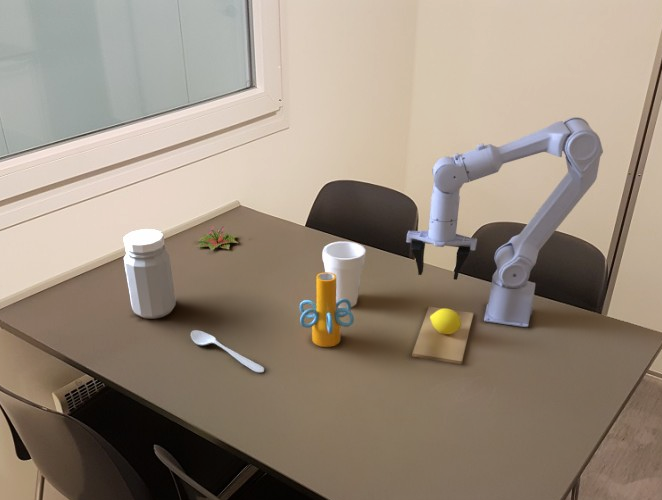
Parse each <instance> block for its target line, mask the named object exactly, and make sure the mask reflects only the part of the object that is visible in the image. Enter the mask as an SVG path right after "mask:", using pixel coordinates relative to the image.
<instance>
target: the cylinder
mask: <svg viewBox="0 0 662 500" xmlns="http://www.w3.org/2000/svg"><path fill="white" fill-rule="evenodd" d="M315 277H316V278H315V279H316V282H315V283H316V286H315V287H316V289H315V291H316V302H314V301H313V300H310V299H304V300H302V301H301V302H300V304H299V311H300V313H301V315H300V318H299V322H300V325H301V327H303V328H305V329H309V328H311V340H312V342H313V344H314V345H316V346H318V347H321V348H331V347H335V346H337V345H338V344H339V343H340V342H341V336H342V335H341V330H342V327H344V328H347V327H350V326H352V325H353V324H354V321H355V317H354V314H353V312H352V311H351V309H352V307H351V303H350V301H349V300H348V299H341V300H339V301H338V302H337V303H336V275H335V274H334V273H330V272H325V271H322V272H320V273H318V274H316V276H315ZM343 302H346V303H347V308H338V306H339V305H340V304H341V303H343ZM305 305H310V306H312V308H307V309H306V310H305V309H304V306H305ZM310 313H313V314H310ZM347 315H348V316H349V321H348V322H344V321H342V320H341V319H340V318H344V317H346V316H347ZM305 318H307V319H313V320H312V321H311V322H309V323H306V322H305Z"/></svg>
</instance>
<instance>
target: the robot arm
mask: <svg viewBox="0 0 662 500" xmlns="http://www.w3.org/2000/svg"><path fill="white" fill-rule="evenodd" d="M540 153H547V154H550V155H553V156H556V157H558V158H562V157H563V154H564V157H565V163H566V168H567V172H566V174H565V175H564V176H563V178H562V179H561V180H560V181H559V183H558V184H557V186H556V187H555V188H554V189H553V191H552V192H551V193H550V195H549V196H548V197H547V198H546V200H545V201H544V202H543V204H542V205H541V206H540V207H539V209H538V210H537V211H536V212H535V214H534V215H533V216H532V217H531V219H530V220H529V221H528V222H527V224H526V225H525V226H524V227H523V229H522V230H521V232H520V233H519V234H516V235H514V236H511V238H510V239H509V240H508V242H506V243H504V244H502V245H501V246H500V247H498V248H497V249H496V250H495V253H494V259H493V260H494V263H495V265H496V270H495V272H494V273H493V274H492V277H491V285H490V291H489V297H488V298H489V299H488V303H487V304H486V306H485V307H486V308H485V313H484V317H483V321H484V322H487V323H493V324H501V325H507V326H514V327H520V328H529V325H530V319H531V316H532V315H533V310H534V307H533V302H534V296H535V290H536V282H532V281H530V280H529V278H530V275H531V272H532V269H533V267H534V266H535V265H536V264H537V259H538V256H539V252H540V250H541V249H542V248H543V247H544V245H545V244H546V243H547V242H548V240H549V239H551V237H552V235H553V234H554V233H555V232H556V230H557V229H558V228H559V227H560V225H561V224H562V223H563V222H564V220H565V219H566V218H567V217H568V216H569V214H570V213H571V212H572V211H573V210H574V208H575V207H576V206H577V205H578V203H579V202H580V201H581V200H582V198H583V197H584V196H585V194H586V193H587V192H588V191H589V190H590V188H591V187H592V186H593V185H594V184H595V182H596V180H597V178H598V172H599V166H600V161H601V157H602V155H603V153H604V150H603V146H602V142H601V138H600V136H599V134H597V132H595V131H594V130H593V129H592V127H591V126H590V124H589V122H588V121H587V120H586V119H584V118H582V117H576V116H574V117H570V118H567V119H566V120H564V121H563V120H561V121H556V122H554V123H552V124H550V125H549V126H546V127H544V128H542V129H539V130H537V131H535V132H532V133H530V134H527V135H525V136H522V137H520V138H518V139H515V140H513V141H510V142H507V143H505V144H502V145H501V146H496V145H493V144H491V143H487V144H485V145H484V143H483V142H482V143H479V144H477V145H476V148H474V149H472V150H468V151H466V152H465V151H464V152H463V153H459V152H457V153H454V154H453V156H443V157H441V158H440V159H438V160H437V161H436V162H435V163H434V165H433V167H432V168H431V171H432V172H431V173H432V176H433V186H432V193H431V198H430V211H429V221H428V222H429V223H428V230H408V231H407V234H406V243H408V244H410V251H411V253H412V255H413V258H414V261H415V263H416V267H417V275H418V276H422V275H423V272H424V267H425V266H424V265H425V264H424V260H425V258H424V257H425V248H426V244H427V245H433V246H434V247H438V248H444V247H454V248H457V250H456V257H455V259H456V260H455V269H454V273H453V280H456V281H457V280H458V277H459V273H460V270H461V268H462V266H463V265H464V263H465V262H466V260H467V259H468V257H469V255H470V252H471V251H473V252H474V251H476V249H477V244H478V238H476V237H469V236H466V235H463V234H459V233H457V230H458V229H457V227H458V220H459V218H458V217H459V209H460V201H461V200H460V199H461V195H460V191H461V188H462V187H463V185H464V184H467V183H470V182H473V181H476V180H479V179H482V178H485V177H488V176H490V175H494V174H496V173H498V172H499V171H500V169H501V168H502V166H503V165H505V164H508V163H510V162H514V161H518V160H521V159H524V158H527V157H531V156H534V155H538V154H540Z"/></svg>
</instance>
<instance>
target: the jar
mask: <svg viewBox="0 0 662 500" xmlns="http://www.w3.org/2000/svg"><path fill="white" fill-rule="evenodd" d="M123 243H124V247H125V253H126V254H125V255H124V257H123V264H124V269H125V276H126V282H127V287H128V293H129V298H130V299H129V300H130V304H131V309H132V312H133V313H134V314H135V315H137V316H139V317H140V318H143V319H151V320H152V319H160V318H163V317H165V316H168V315H169V314H171V312H172V311H173V309H174V308H175V307H176V305H177V303H176V296H175V295H176V294H175V288H174V287H175V286H174V279H173V271H172V264H171V256H170V254H169V252H168V250H167V249H166V246H165V235H164V234H163V232H162V231H159V230H156V229H151V228H149V229H148V228H144V229H137V230H134V231H131V232H129V233H127V234H126V235H125V236H124V237H123Z"/></svg>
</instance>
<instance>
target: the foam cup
mask: <svg viewBox="0 0 662 500" xmlns="http://www.w3.org/2000/svg"><path fill="white" fill-rule="evenodd" d="M366 251H367V250H366V248H365V247H364V246H363V245H361V244H360V243H357V242H353V241H334V242H331V243H328V244H327V245H325V246H323V249H322V261H323V265H324V272H330V273H334V274H335V275H336V303H337V302H338V301H339V300H341V299H348V300H349V301H350V303H351V308H353V307H355V306H356V305H357V303H358V299H359V292H360V288H361V287H360V286H361V281H362V276H363V269H364V264H365V262H366V253H367V252H366ZM339 308H346V309H347V303H346V302H343V303H341V304H340V305H339V306H338V308H337V309H339Z"/></svg>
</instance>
